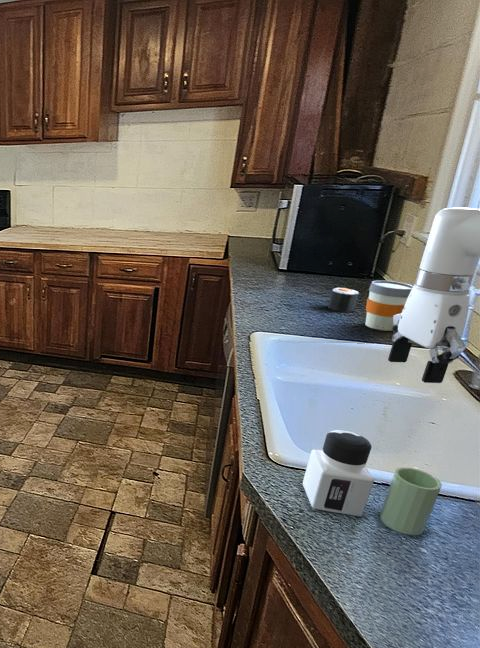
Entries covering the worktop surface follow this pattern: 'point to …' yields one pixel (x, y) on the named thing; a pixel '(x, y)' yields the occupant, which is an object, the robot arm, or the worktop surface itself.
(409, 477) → the cup
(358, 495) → the container
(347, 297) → the sushi
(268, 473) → the worktop surface
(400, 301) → the reusable coffee cup
